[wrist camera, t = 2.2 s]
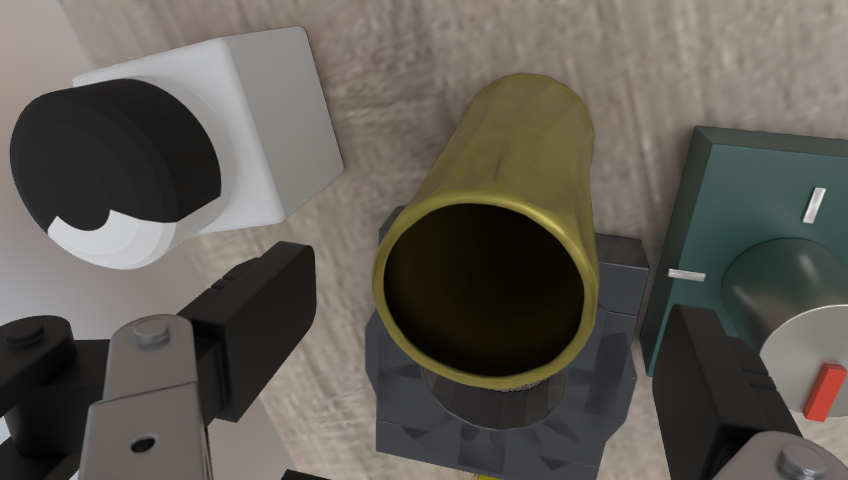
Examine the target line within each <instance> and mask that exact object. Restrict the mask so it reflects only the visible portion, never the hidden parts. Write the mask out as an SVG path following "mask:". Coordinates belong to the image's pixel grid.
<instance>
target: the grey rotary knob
mask: <svg viewBox="0 0 848 480" xmlns="http://www.w3.org/2000/svg"><path fill="white" fill-rule="evenodd" d="M721 298H722V302H723V305H724V307H725V310H726V312H727V314H728V316H729V318H730V320H731V322H732V324H733V326H734V328H735V330H736V332H737V334H738V336H739V338H741V339H742V340H743V341H744V342H745V343H747V344H748V345H749V346H750V347H751V348H752V349H753V350H754V351H756V352H757V353H758V354H759V355H760V357H761V359H762V361H763V363H764V364H765V366H766V368H767V370H768V372H769V376H771V378H772V379H773V381H774V383H775V385H776V387H777V391H779V393H780V394H781V396H782V398H783V400H784V402H785V404H786V406H787V407H788V408H790V409H792V410H794V411H797V412H800V413H803V414H804V416H805V418H806V419H809V420H814V421H820V422H824V421H825V419H826V417H841V416H848V267H847V266H846V265H845V264H844V263H843V262H842V261H841V260H840V259H839V258H838V257H837V256H836V255H835V254H834V253H832V252H831V251H830V250H829V249H827V248H825V247H824V246H822V245H820V244H817V243H815V242H811V241H808V240H802V239H778V240H773V241H769V242H765V243H762V244H760V245H757V246H755V247H753V248H751V249H749V250H748V251H746V252H745V253H743V254H742V255H741V256H739V257H738V258H737V259H736V260H735V261H734V262H733V263H732V265H731V266H730V267H729V269H728V270H727V272H726V274H725V276H724V279H723V282H722V286H721Z"/></svg>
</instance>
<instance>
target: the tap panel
mask: <svg viewBox="0 0 848 480" xmlns="http://www.w3.org/2000/svg"><path fill="white" fill-rule="evenodd" d="M778 239H802V240H808V241H811V242H815V243H817V244H820V245H822V246H824V247H825V248H827V249H829V250H830V251H831V252H832V253H834V254H835V255H836V256H837V257H838V258H839V259H840V260H841V261H842V262H843V263H844V264H845V265H846V266H847V267H848V140H840V139H830V138H819V137H809V136H798V135H788V134H777V133H767V132H757V131H746V130H736V129H725V128H715V127H704V126H696V127H695V131H694V135H693V138H692V142H691V146H690V150H689V154H688V157H687V161H686V165H685V169H684V173H683V176H682V180H681V184H680V188H679V192H678V195H677V199H676V203H675V207H674V211H673V214H672V218H671V222H670V226H669V229H668V233H667V237H666V241H665V245H664V248H663V252H662V256H661V260H660V264H659V267H658V271H657V275H656V279H655V283H654V286H653V290H652V294H651V298H650V302H649V305H648V309H647V313H646V317H645V320H644V324H643V328H642V332H641V336H640V344H641V349H642V354H643V359H644V364H645V369H646V374H647V376H648V377H653V371H654V366H655V362H656V358H657V355H658V351H659V348H660V344H661V341H662V337H663V334H664V330H665V327H666V323H667V319H668V316H669V313H670V310H671V308H672V306H673V305H674V304H682V305H688V306H695V307H701V308H708V309H713V310H715V311H716V313H717V315H718V317H719V319H720V321H721V324H722V326H723V328H724V330H725V332H726V334H727V336H732V337H738V338H739V336H738V334H737V332H736V330H735V328H734V326H733V324H732V322H731V320H730V318H729V316H728V314H727V312H726V310H725V307H724V305H723V302H722V298H721V286H722V282H723V279H724V276H725V274H726V272H727V270H728V269H729V267H730V266H731V265H732V263H733V262H734V261H735V260H736V259H737V258H738V257H739V256H741V255H742V254H743V253H745V252H746V251H748V250H749V249H751V248H753V247H755V246H757V245H760V244H762V243H765V242H769V241H773V240H778Z"/></svg>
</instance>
